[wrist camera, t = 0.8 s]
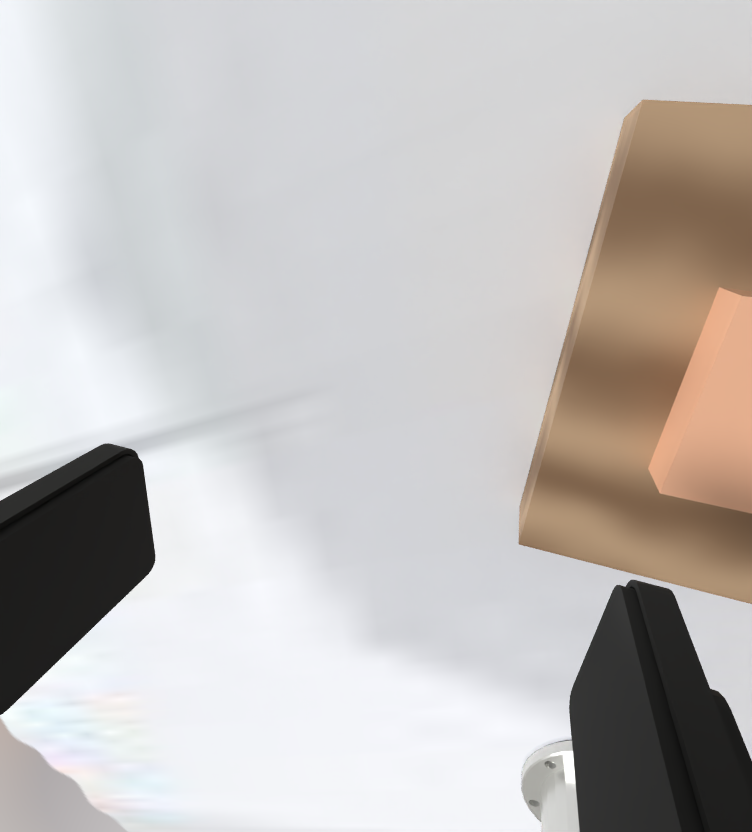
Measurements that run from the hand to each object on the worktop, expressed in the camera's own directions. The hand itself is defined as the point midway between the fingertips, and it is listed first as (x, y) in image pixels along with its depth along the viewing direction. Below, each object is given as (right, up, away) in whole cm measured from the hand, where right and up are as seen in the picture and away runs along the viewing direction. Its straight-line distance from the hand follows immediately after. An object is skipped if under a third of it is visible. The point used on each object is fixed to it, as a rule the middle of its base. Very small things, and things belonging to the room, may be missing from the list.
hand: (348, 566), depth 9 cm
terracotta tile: (+18, +4, +12) cm, 22 cm away
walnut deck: (+18, +5, +16) cm, 24 cm away
